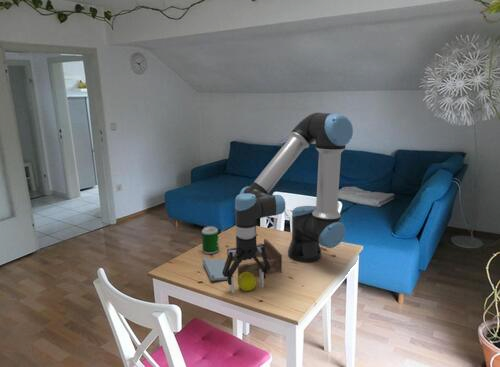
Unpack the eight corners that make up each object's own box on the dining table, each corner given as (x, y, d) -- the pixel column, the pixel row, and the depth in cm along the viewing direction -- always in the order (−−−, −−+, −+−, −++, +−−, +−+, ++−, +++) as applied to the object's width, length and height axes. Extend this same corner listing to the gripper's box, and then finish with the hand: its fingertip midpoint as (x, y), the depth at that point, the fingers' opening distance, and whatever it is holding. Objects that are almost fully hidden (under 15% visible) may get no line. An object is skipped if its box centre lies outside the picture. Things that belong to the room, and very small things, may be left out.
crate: (266, 255, 171) (266, 238, 169) (281, 272, 154) (281, 255, 152) (227, 261, 165) (226, 244, 163) (238, 280, 148) (238, 261, 146)
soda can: (216, 256, 170) (215, 231, 167) (200, 255, 172) (199, 230, 169) (220, 249, 177) (219, 226, 175) (205, 248, 179) (204, 225, 176)
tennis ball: (240, 295, 137) (240, 278, 135) (236, 286, 144) (235, 270, 142) (258, 292, 139) (258, 275, 137) (253, 283, 146) (253, 267, 144)
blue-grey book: (223, 256, 163) (203, 257, 160) (233, 274, 148) (211, 275, 145) (222, 261, 164) (202, 262, 161) (233, 279, 148) (211, 280, 145)
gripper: (272, 228, 143) (272, 279, 148) (212, 236, 136) (214, 289, 141) (279, 235, 136) (279, 288, 141) (217, 243, 129) (219, 299, 134)
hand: (247, 289), depth 141 cm, fingers open, 11 cm apart
